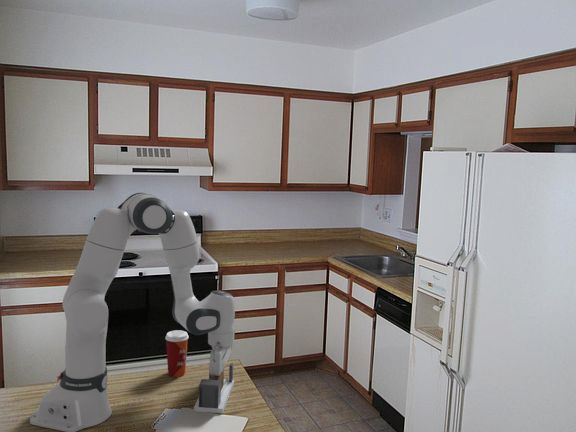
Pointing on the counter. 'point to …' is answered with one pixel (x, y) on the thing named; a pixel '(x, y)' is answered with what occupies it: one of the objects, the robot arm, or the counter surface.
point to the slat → (219, 378)
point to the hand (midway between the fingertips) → (220, 376)
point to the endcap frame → (214, 394)
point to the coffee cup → (176, 352)
